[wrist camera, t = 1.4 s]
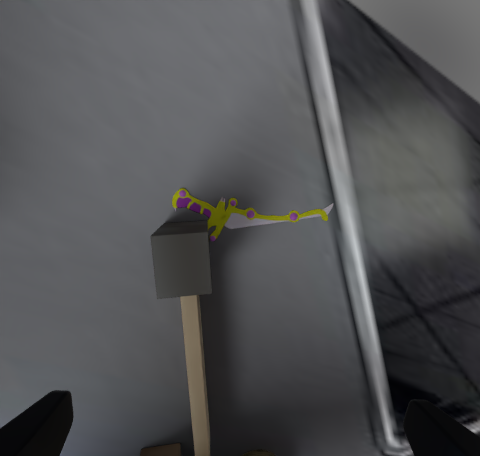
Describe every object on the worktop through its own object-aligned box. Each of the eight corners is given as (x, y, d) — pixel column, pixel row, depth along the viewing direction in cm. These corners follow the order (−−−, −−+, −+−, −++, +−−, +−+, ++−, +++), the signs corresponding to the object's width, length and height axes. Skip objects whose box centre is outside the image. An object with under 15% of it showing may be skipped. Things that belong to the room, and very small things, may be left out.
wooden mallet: (184, 430, 23) (178, 499, 18) (164, 223, 20) (150, 236, 15) (222, 425, 23) (226, 491, 18) (207, 220, 20) (207, 232, 15)
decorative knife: (314, 263, 22) (333, 200, 21) (317, 265, 22) (336, 201, 21) (166, 232, 20) (180, 163, 20) (165, 234, 20) (179, 162, 19)
